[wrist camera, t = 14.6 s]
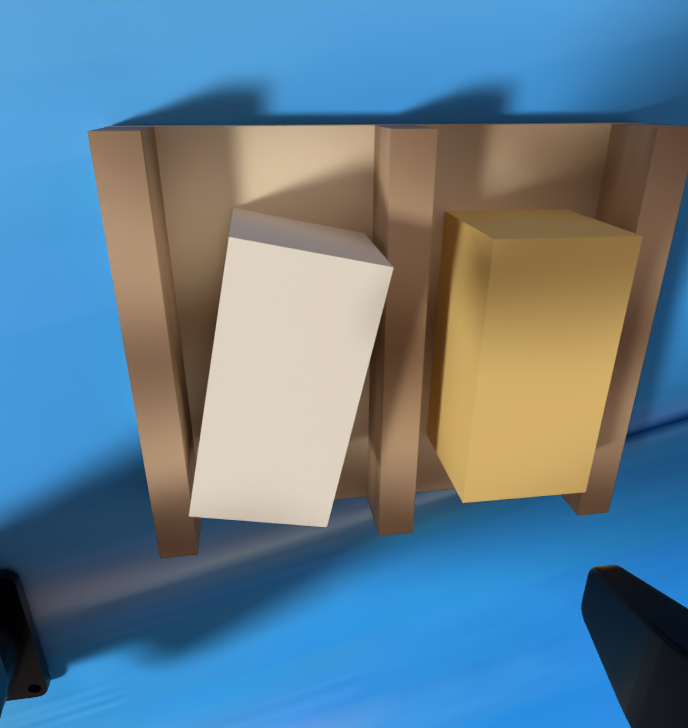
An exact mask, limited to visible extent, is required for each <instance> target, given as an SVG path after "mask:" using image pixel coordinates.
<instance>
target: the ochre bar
mask: <svg viewBox="0 0 688 728" xmlns="http://www.w3.org/2000/svg"><path fill="white" fill-rule="evenodd" d="M642 238H643V236H641V235H638V234H635V233H633V232H630V231H627V230H624V229H621V228H618V227H615V226H613V225H610V224H607V223H604V222H601V221H598V220H595V219H593V218H590V217H587V216H584V215H581V214H578V213H575V212H573V211H570V210H567V209H552V210H484V211H445V214H444V226H443V238H442V251H441V263H440V275H439V287H438V300H437V312H436V324H435V337H434V349H433V361H432V373H431V386H430V398H429V410H428V422H427V436H428V438H429V440H430V442H431V444H432V446H433V448H434V449H435V451H436V453H437V455H438V457H439V459H440V461H441V463H442V465H443V466H444V468H445V470H446V472H447V474H448V476H449V478H450V480H451V482H452V483H453V485H454V487H455V489H456V491H457V493H458V495H459V497H460V499H461V500H462V502H463V503H468V502H479V501H490V500H502V499H513V498H525V497H536V496H548V495H559V494H571V493H582V492H586V488H587V484H588V479H589V475H590V470H591V466H592V462H593V457H594V453H595V448H596V444H597V439H598V435H599V430H600V426H601V421H602V417H603V412H604V408H605V403H606V399H607V394H608V390H609V386H610V381H611V377H612V372H613V368H614V363H615V359H616V354H617V350H618V345H619V341H620V336H621V332H622V327H623V323H624V318H625V314H626V310H627V305H628V301H629V296H630V292H631V287H632V283H633V278H634V274H635V269H636V265H637V260H638V256H639V251H640V247H641V242H642Z"/></svg>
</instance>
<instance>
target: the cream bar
mask: <svg viewBox="0 0 688 728" xmlns="http://www.w3.org/2000/svg"><path fill="white" fill-rule="evenodd" d="M393 268H394V267H393V266H392V265H391V264H390V263H389V261H388V260H387V259H386V258H385V257H384V256H383V254H382V253H381V252H380V251H379V250H378V249H377V247H376V246H375V245H374V244H373V243H372V242H371V240H370V239H369V238H368V237H367V236H366V235H365V233H360V232H355V231H350V230H345V229H340V228H335V227H330V226H325V225H320V224H315V223H309V222H304V221H299V220H294V219H289V218H284V217H279V216H274V215H269V214H264V213H259V212H254V211H248V210H243V209H238V208H233V212H232V219H231V226H230V233H229V239H228V246H227V253H226V260H225V267H224V274H223V281H222V288H221V295H220V302H219V309H218V316H217V323H216V330H215V337H214V344H213V351H212V358H211V365H210V372H209V379H208V386H207V393H206V400H205V406H204V413H203V420H202V427H201V434H200V441H199V448H198V455H197V462H196V469H195V476H194V483H193V490H192V497H191V504H190V511H189V516H190V517H203V518H215V519H228V520H241V521H253V522H266V523H279V524H292V525H304V526H317V527H327V525H328V521H329V517H330V513H331V509H332V505H333V501H334V498H335V494H336V490H337V486H338V482H339V478H340V474H341V470H342V466H343V463H344V459H345V455H346V451H347V447H348V443H349V439H350V435H351V431H352V428H353V424H354V420H355V416H356V412H357V408H358V404H359V400H360V396H361V393H362V389H363V385H364V381H365V377H366V373H367V369H368V365H369V361H370V358H371V354H372V350H373V346H374V342H375V338H376V334H377V330H378V326H379V323H380V319H381V315H382V311H383V307H384V303H385V299H386V295H387V292H388V288H389V284H390V280H391V276H392V272H393Z"/></svg>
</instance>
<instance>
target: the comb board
mask: <svg viewBox="0 0 688 728" xmlns="http://www.w3.org/2000/svg"><path fill="white" fill-rule="evenodd" d="M87 132H88V138H89V143H90V149H91V155H92V161H93V167H94V173H95V179H96V185H97V190H98V196H99V202H100V208H101V214H102V220H103V226H104V231H105V237H106V243H107V249H108V255H109V261H110V267H111V273H112V278H113V284H114V290H115V296H116V302H117V308H118V314H119V320H120V325H121V331H122V337H123V343H124V349H125V355H126V361H127V366H128V372H129V378H130V384H131V390H132V396H133V402H134V408H135V413H136V419H137V425H138V431H139V437H140V443H141V449H142V455H143V460H144V466H145V472H146V478H147V484H148V490H149V496H150V501H151V507H152V513H153V519H154V525H155V531H156V537H157V543H158V548H159V554H160V558H168V557H178V556H188V555H198V547H199V538H200V529H201V520H202V517H190V516H189V511H190V504H191V497H192V490H193V483H194V476H195V469H196V462H197V455H198V448H199V441H200V434H201V427H202V420H203V413H204V406H205V400H206V393H207V386H208V379H209V372H210V365H211V358H212V351H213V344H214V337H215V330H216V323H217V316H218V309H219V302H220V295H221V288H222V281H223V274H224V267H225V260H226V253H227V246H228V239H229V233H230V226H231V219H232V212H233V208H238V209H243V210H248V211H254V212H259V213H264V214H269V215H274V216H279V217H284V218H289V219H294V220H299V221H304V222H309V223H315V224H320V225H325V226H330V227H335V228H340V229H345V230H350V231H355V232H360V233H365V235H366V236H367V237H368V238H369V239H370V240H371V242H372V243H373V244H374V245H375V246H376V247H377V249H378V250H379V251H380V252H381V253H382V254H383V256H384V257H385V258H386V259H387V260H388V261H389V263H390V264H391V265H392V266H393V267H394V268H393V272H392V276H391V280H390V284H389V288H388V292H387V295H386V299H385V303H384V307H383V311H382V315H381V319H380V323H379V326H378V330H377V334H376V338H375V342H374V346H373V350H372V354H371V358H370V361H369V365H368V369H367V373H366V377H365V381H364V385H363V389H362V393H361V396H360V400H359V404H358V408H357V412H356V416H355V420H354V424H353V428H352V431H351V435H350V439H349V443H348V447H347V451H346V455H345V459H344V463H343V466H342V470H341V474H340V478H339V482H338V486H337V490H336V494H335V498H334V500H335V499H346V498H357V497H368V501H369V504H370V508H371V511H372V514H373V518H374V521H375V524H376V528H377V531H378V534H379V536H382V535H392V534H402V533H411V532H413V522H414V506H415V492H421V491H432V490H442V489H453V488H455V487H454V485H453V483H452V482H451V480H450V478H449V476H448V474H447V472H446V470H445V468H444V466H443V465H442V463H441V461H440V459H439V457H438V455H437V453H436V451H435V449H434V448H433V446H432V444H431V442H430V440H429V438H428V436H427V422H428V410H429V398H430V386H431V373H432V361H433V349H434V337H435V324H436V312H437V300H438V287H439V275H440V263H441V251H442V238H443V226H444V214H445V211H484V210H552V209H567V210H570V211H573V212H575V213H578V214H581V215H584V216H587V217H590V218H593V219H595V220H598V221H601V222H604V223H607V224H610V225H613V226H615V227H618V228H621V229H624V230H627V231H630V232H633V233H635V234H638V235H641V236H643V238H642V242H641V247H640V251H639V256H638V260H637V265H636V269H635V274H634V278H633V283H632V287H631V292H630V296H629V301H628V305H627V310H626V314H625V318H624V323H623V327H622V332H621V336H620V341H619V345H618V350H617V354H616V359H615V363H614V368H613V372H612V377H611V381H610V386H609V390H608V394H607V399H606V403H605V408H604V412H603V417H602V421H601V426H600V430H599V435H598V439H597V444H596V448H595V453H594V457H593V462H592V466H591V470H590V475H589V479H588V484H587V488H586V492H582V493H571V494H561V495H562V497H563V498H564V499H565V500H566V502H567V503H568V504H569V506H570V507H571V508H572V509H573V511H574V512H575V513H576V514H577V515H587V514H596V513H606V512H608V511H609V507H610V502H611V498H612V494H613V489H614V485H615V481H616V477H617V472H618V468H619V464H620V460H621V455H622V451H623V447H624V443H625V438H626V434H627V430H628V425H629V421H630V417H631V413H632V408H633V404H634V400H635V396H636V391H637V387H638V383H639V378H640V374H641V370H642V366H643V361H644V357H645V353H646V349H647V344H648V340H649V336H650V332H651V327H652V323H653V319H654V314H655V310H656V306H657V302H658V297H659V293H660V289H661V285H662V280H663V276H664V272H665V268H666V263H667V259H668V255H669V250H670V246H671V242H672V238H673V233H674V229H675V225H676V221H677V216H678V212H679V208H680V203H681V199H682V195H683V191H684V186H685V182H686V178H687V174H688V126H680V125H664V124H651V123H636V122H635V123H475V124H315V125H155V126H107V127H104V128H101V129H96V130H91V131H87Z"/></svg>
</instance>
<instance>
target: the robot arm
mask: <svg viewBox="0 0 688 728" xmlns="http://www.w3.org/2000/svg"><path fill="white" fill-rule="evenodd" d="M1 583H5V584H7V585H3V584H1ZM581 610H582V615H583V619H584V622H585V624H586V626H587V629H588V631H589V633H590V636H591V638H592V640H593V643H594V645H595V647H596V650H597V652H598V654H599V657H600V659H601V662H602V664H603V666H604V669H605V671H606V673H607V676H608V678H609V680H610V683H611V685H612V687H613V690H614V692H615V695H616V697H617V699H618V701H619V704H620V706H621V708H622V710H623V712H624V715H625V717H626V719H627V720H628V722H629V724H630V726H631V728H688V609H687V608H686V607H684V606H683V605H681V604H679V603H678V602H676V601H675V600H673V599H671V598H670V597H668V596H667V595H665V594H663V593H662V592H660V591H659V590H657V589H655V588H654V587H652V586H650V585H649V584H647V583H646V582H644V581H642V580H641V579H639V578H638V577H636V576H634V575H633V574H631V573H630V572H628V571H626V570H625V569H623V568H621V567H619V566H617V565H606V566H597V567H593V568H592V569H591V570H590V571H589V573H588V577H587V582H586V586H585V590H584V595H583V599H582V605H581ZM49 684H50V675H49V672H48V669H47V665H46V662H45V659H44V656H43V652H42V649H41V646H40V643H39V639H38V636H37V633H36V629H35V626H34V623H33V620H32V616H31V613H30V610H29V607H28V603H27V600H26V597H25V594H24V590H23V587H22V584H21V580H20V578H19V576H18V574H16V573H15V572H13V571H10V570H0V717H1V713H2V710H3V707H4V705H5V702H6V701H9V700H17V699H25V698H33V697H39V696H42V695H44V694H45V693H46V692H47V690H48V687H49Z"/></svg>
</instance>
